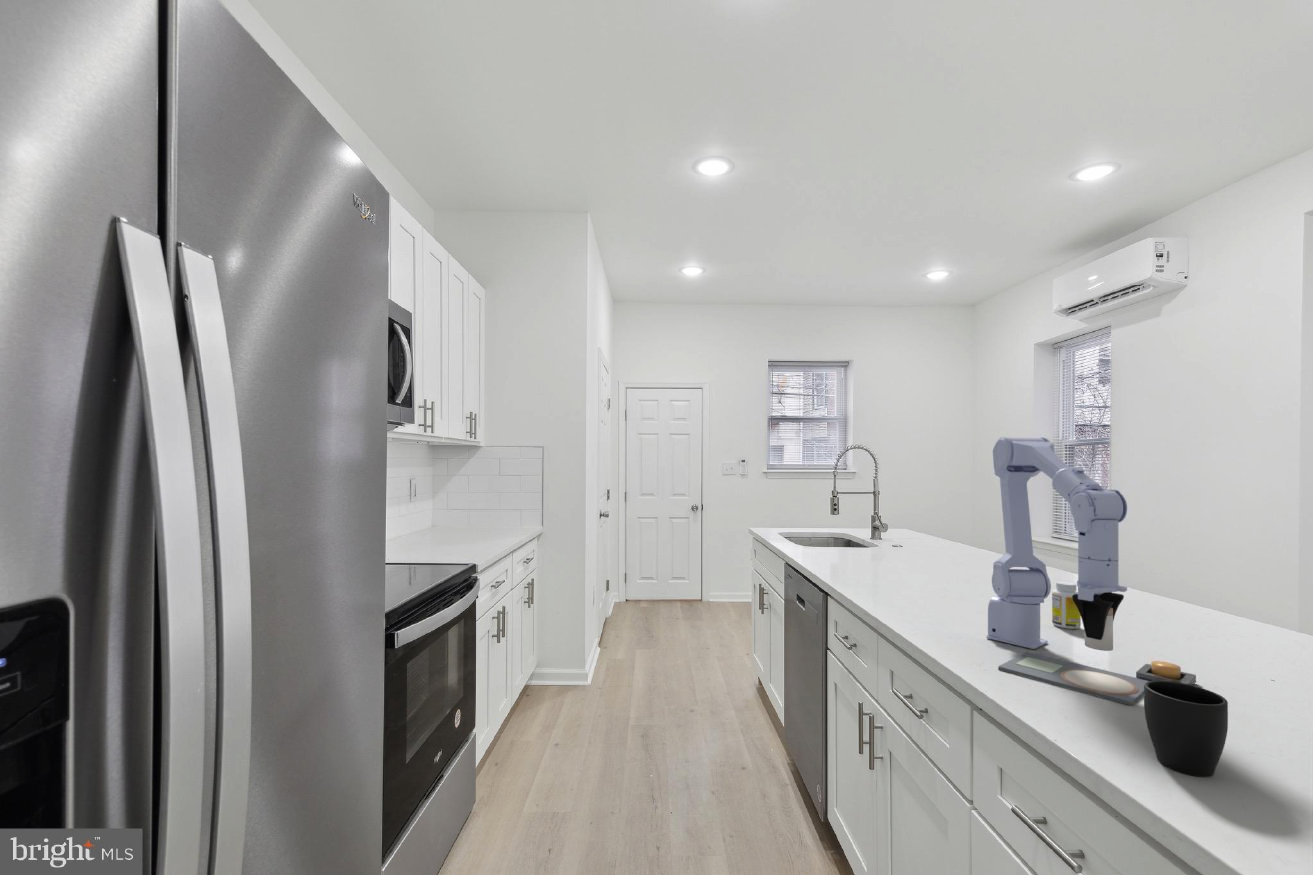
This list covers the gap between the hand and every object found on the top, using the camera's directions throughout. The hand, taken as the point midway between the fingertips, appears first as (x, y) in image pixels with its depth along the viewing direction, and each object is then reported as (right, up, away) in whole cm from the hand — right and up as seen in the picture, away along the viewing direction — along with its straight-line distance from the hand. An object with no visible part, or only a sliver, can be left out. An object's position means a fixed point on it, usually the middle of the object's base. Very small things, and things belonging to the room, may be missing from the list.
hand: (1098, 635), depth 105 cm
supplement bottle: (+19, -10, +36) cm, 42 cm away
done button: (+14, -8, +2) cm, 16 cm away
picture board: (-2, -9, +4) cm, 10 cm away
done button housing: (+14, -9, +2) cm, 16 cm away
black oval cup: (-8, -8, -26) cm, 28 cm away
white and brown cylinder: (0, -2, 0) cm, 2 cm away
